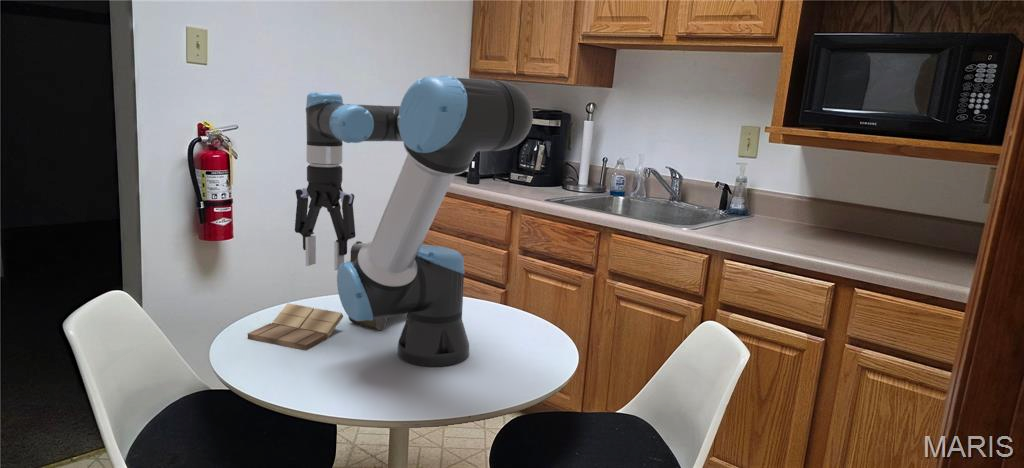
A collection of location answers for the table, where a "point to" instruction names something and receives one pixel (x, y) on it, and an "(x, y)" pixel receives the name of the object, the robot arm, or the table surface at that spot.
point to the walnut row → (287, 336)
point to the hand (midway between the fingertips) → (324, 266)
